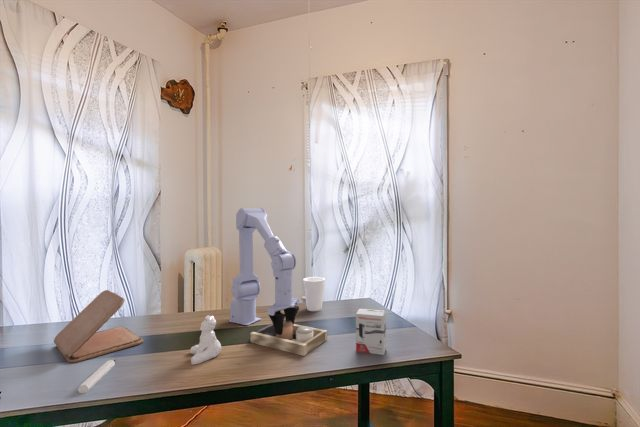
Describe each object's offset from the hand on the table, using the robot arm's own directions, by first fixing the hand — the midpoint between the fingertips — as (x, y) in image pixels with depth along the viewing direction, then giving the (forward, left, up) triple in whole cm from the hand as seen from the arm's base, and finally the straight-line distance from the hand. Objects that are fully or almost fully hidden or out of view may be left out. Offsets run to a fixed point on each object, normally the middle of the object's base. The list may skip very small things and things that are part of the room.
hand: (284, 331), depth 109 cm
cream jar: (+8, 0, -3) cm, 9 cm away
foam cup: (-9, +34, -3) cm, 35 cm away
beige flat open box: (+2, 0, -3) cm, 4 cm away
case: (-50, -32, -3) cm, 59 cm away
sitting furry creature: (-13, -21, -3) cm, 25 cm away
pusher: (-8, 0, -3) cm, 8 cm away
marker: (-28, -43, -3) cm, 51 cm away
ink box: (+28, +6, -3) cm, 29 cm away
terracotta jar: (0, 0, -2) cm, 2 cm away
